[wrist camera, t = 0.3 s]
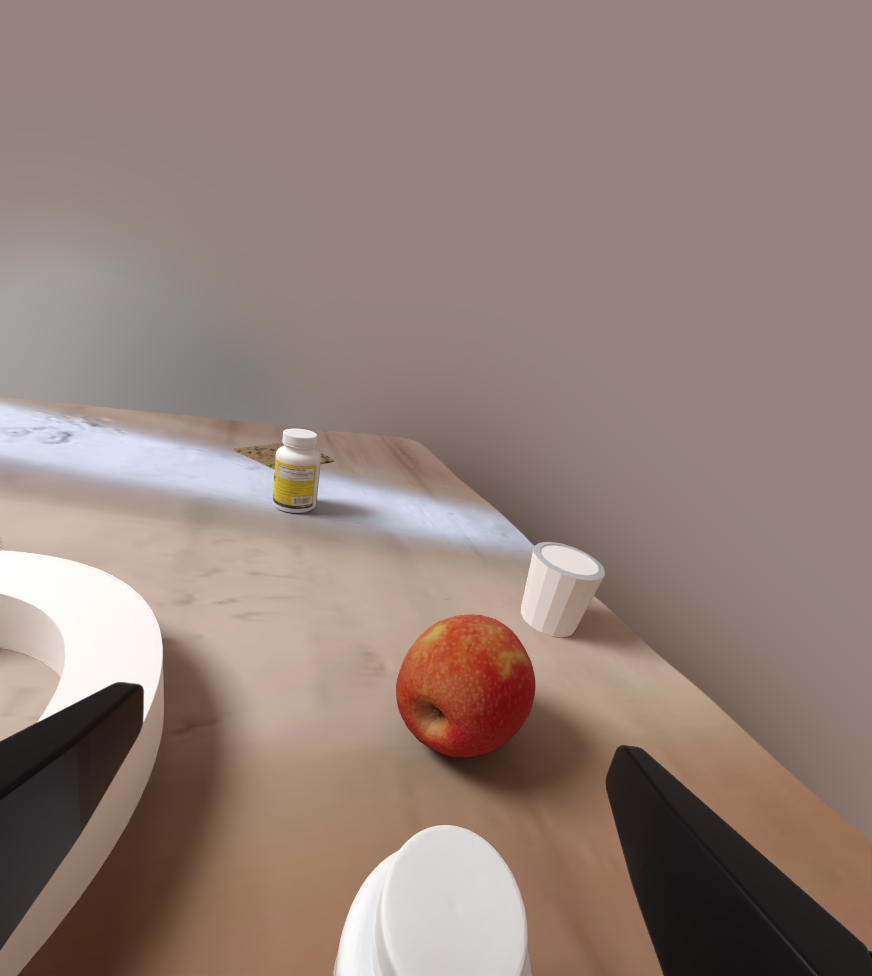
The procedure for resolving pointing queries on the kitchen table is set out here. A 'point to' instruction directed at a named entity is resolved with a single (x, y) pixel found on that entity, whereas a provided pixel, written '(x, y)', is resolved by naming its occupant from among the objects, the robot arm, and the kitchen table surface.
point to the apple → (465, 686)
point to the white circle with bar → (84, 671)
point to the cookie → (269, 454)
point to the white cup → (559, 588)
